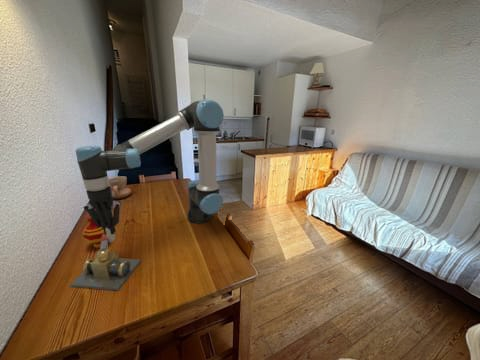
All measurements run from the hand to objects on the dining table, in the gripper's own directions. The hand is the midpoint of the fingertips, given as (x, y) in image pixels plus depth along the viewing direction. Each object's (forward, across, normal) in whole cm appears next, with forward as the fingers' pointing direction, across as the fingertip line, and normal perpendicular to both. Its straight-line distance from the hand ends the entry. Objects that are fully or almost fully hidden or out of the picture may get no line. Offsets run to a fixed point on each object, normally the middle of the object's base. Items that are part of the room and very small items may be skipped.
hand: (112, 240), depth 80 cm
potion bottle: (+8, +12, -10) cm, 18 cm away
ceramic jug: (+8, +28, -68) cm, 74 cm away
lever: (+1, +1, +4) cm, 4 cm away
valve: (+9, -1, +9) cm, 13 cm away
